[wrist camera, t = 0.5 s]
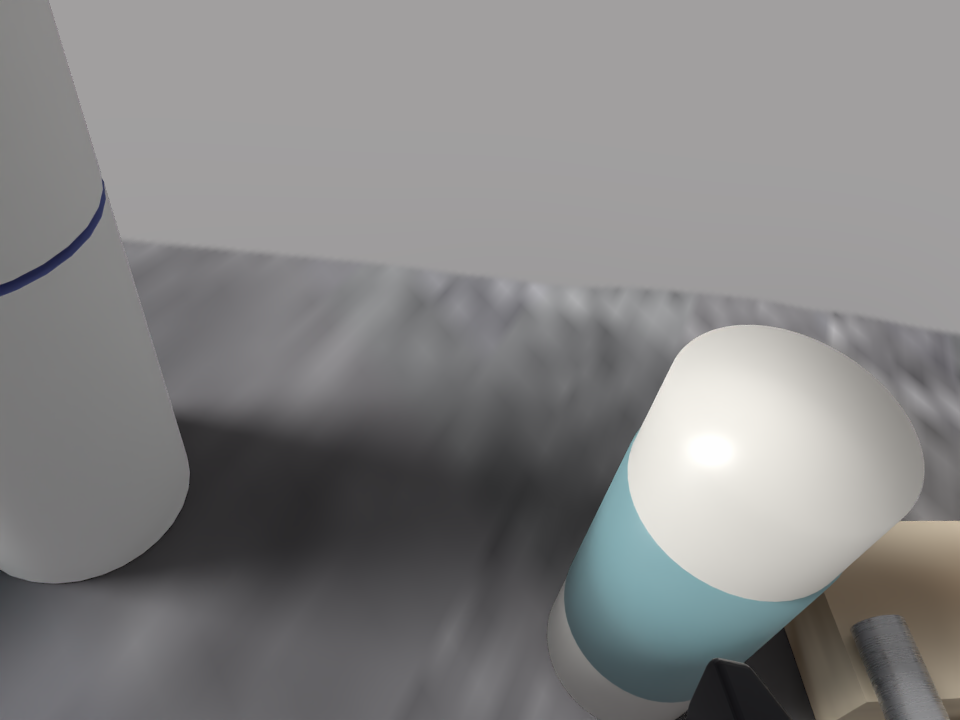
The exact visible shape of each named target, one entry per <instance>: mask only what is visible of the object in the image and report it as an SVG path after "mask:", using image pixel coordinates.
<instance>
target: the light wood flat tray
mask: <svg viewBox="0 0 960 720" xmlns="http://www.w3.org/2000/svg"><path fill="white" fill-rule="evenodd" d="M882 615H900V616H903V617H904V618H905V621H906V623H907V625H908V627H909V629H910V632H911V634H912V636H913V638H914V641H915V643H916V645H917V647H918V649H919V652H920V654H921V656H922V658H923V660H924V663H925V665H926V667H927V669H928V672H929V674H930V676H931V678H932V680H933V683H934V685H935V687H936V689H937V691H938V694H939V696H940V698H941V700H942V702H943V705H944V707H945V709H946V711H947V714H948V716H949V718H950V720H960V521H899V522H898V523H897V524H896V525H895V526H893V527H892V528H891V529H890V530H889V531H888V532H887V533H886V534H884V535H883V536H882V537H881V538H880V539H879V540H878V541H877V542H875V543H874V544H873V545H872V546H871V547H870V548H869V549H868V550H866V551H865V552H864V553H863V554H862V555H861V556H860V557H859V558H857V559H856V560H855V561H854V562H853V563H852V564H851V565H850V566H848V567H847V568H846V569H845V570H844V571H843V572H842V574H841V575H840V577H839V578H838V579H837V580H836V581H835V582H834V583H833V584H832V585H831V586H830V587H829V588H828V589H826V590H825V591H824V592H823V593H822V594H821V595H820V596H819V597H817V598H816V599H815V600H814V601H813V602H812V603H811V604H809V605H808V606H807V607H806V608H805V609H804V610H803V611H802V612H800V613H799V614H798V615H797V616H796V617H795V618H794V619H793V620H791V621H790V622H789V623H788V624H787V625H786V626H785V627H784V628H785V631H786V634H787V637H788V640H789V643H790V646H791V648H792V651H793V654H794V657H795V660H796V663H797V666H798V669H799V672H800V675H801V678H802V681H803V684H804V686H805V689H806V692H807V695H808V698H809V701H810V704H811V707H812V710H813V713H814V716H815V719H816V720H886V719H885V717H884V714H883V712H882V709H881V707H880V704H879V702H878V699H877V697H876V694H875V692H874V689H873V687H872V684H871V682H870V679H869V677H868V674H867V672H866V669H865V667H864V664H863V662H862V659H861V657H860V654H859V652H858V649H857V647H856V644H855V642H854V639H853V637H852V634H851V632H850V629H851V627H852V626H853V625H855V624H856V623H858V622H860V621H863V620H865V619H868V618H872V617H876V616H882Z"/></svg>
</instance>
